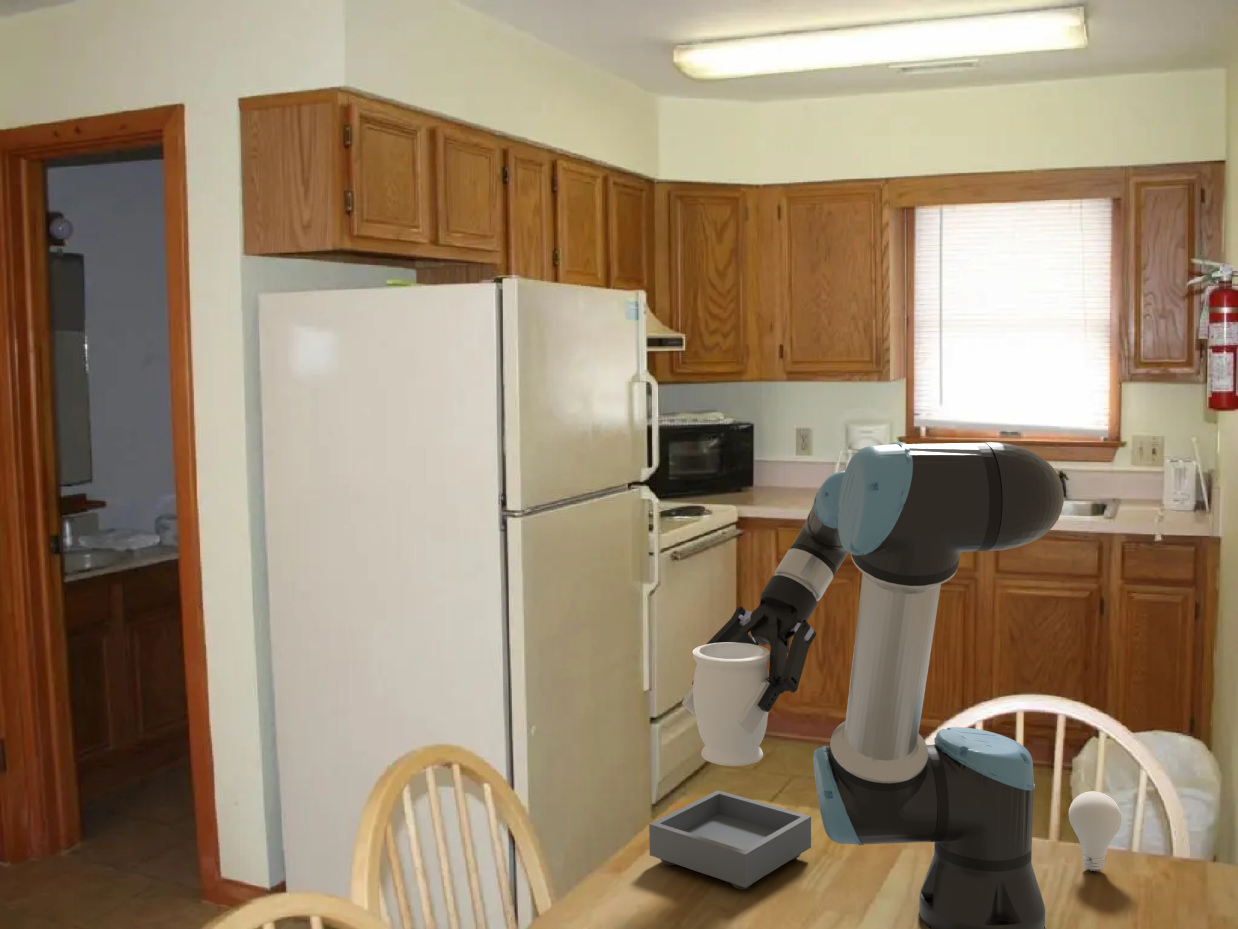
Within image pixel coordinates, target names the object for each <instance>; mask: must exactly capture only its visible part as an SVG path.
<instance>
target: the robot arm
mask: <svg viewBox="0 0 1238 929" xmlns="http://www.w3.org/2000/svg"><path fill="white" fill-rule="evenodd" d="M1064 494H1065V492H1064V489H1063V483H1062V481H1061V478H1060V476H1059V474H1058V473H1057V471H1056V469H1055V468H1054V467H1053V466H1052V465H1051V463H1049V462H1048V461H1047V460H1046V459H1045V458H1043V457H1042V456H1041V455H1039V454H1037V453H1035V452H1034V451H1031V450H1030V449H1027V448H1025V447H1021V446H1019V445H1014V444H1012V443H1005V442H1004V443H1003V442H995V441H993V442H991V441H989V442H988V441H987V442H986V441H985V442H984V441H983V442H957V443H952V442H950V443H917V444H916V443H912V444H906V443H904V442H897V441H896V442H891V443H889V444H880V445H868V446H864V447H862V448H860V449H859V450H857V452H855V453H854V454H853V456H851V458H850V459H849V462H848V464H847V466H846V467H845V470H840V471H837V472H835V473H832V474H830V476H828V477H827V478H826V479H825V480H824V482H823V483H822V485H821V486H820V487H819V489H818V490H817V491H816V494H815V498H814V499H813V504H812V507H811V509H810V511H809V512H808V515H807V518H806V520H805V522H804V524H803V526H802V528H801V529H800V531H799V533H798V535H797V536H796V538H795V539H794V540H793V543H792V545H791V546H790V547H789V549H787V552H786V553H785V555H784V556H783V558H782V559H781V561H780V563H779V564H778V566H777V567H776V569H775V571H774V576H771V578H770V579H769V580H768V581H767V584H766V585H765V587H764V589H763V590H762V592H761V593H760V602H759V605H758V606H757V608H755V609H754V610H753V611H751V610H750V611H749V610H746V609H745V608H744V607H743V606H741V605H740V606H738V607H737V608H736V609H735V611H734V612H733V614H732V615H731V617H730V619H729V620H728V621H727V622H725V624H724V625H723V626H722V627H721V628H720V629H719V630H718V631H717V632H716V633H715V635H713V636H712V638H710V640H708V642H706V644H712V643H723V642H736V643H748V644H754V645H758V646H760V645H761V646H762V645H763V646H765V645H767V646H769V648H770V649H769V652H770V659H769V668H768V673H769V677H768V679H769V680H768V679H767V678H766V680H767V681H768V682H769V683H770V684H769V685H768V684H767V683H766V682H762V683H761V685H760V686H759V688H758V690H757V691H756V693H755V695H754V696H753V698H752V700H751V701H750V703H749V705H748V706H747V708H746V710H745V711H744V713H743V715H742V716H741V718H740V720H739V721H738V723H739V724H740V725H741V726H742V727H743V728H744V729H745V730H746V731H747V732H748V733H750V734H753V732H754V731H755V729H756V727H757V726H758V724H759V722H760V721H761V719H762V717H763V716H764V714H765V712H769V713H770V711H771V710H772V708H773V706H774V705H775V703H776V701H777V700H778V699H779V697H780V694H783V693H785V692H790V693H796V692H797V691H798V689H799V684H800V681H801V677H802V673H803V670H804V667H805V664H806V663H805V662H806V660H807V656H808V652H809V649H810V646H811V644H812V643H813V641H814V640H815V638H816V637H817V632H816V631H815V630H814V629H813V627H812V626H811V625H810V623H809V622H808V621H809V619H810V617H811V616H812V614H813V612H814V611H815V609H816V607H817V605H818V601H820V600H821V599H822V597H823V596H824V594H825V592H826V590H827V589H828V587H829V586H830V584H831V582H832V580H833V579H834V578H835V576H836V573H837V571H838V570H839V569H840V567H841V566H842V564H843V562H844V560H845V559H846V558H847V556H848V555H849V554H850V558H851V560H852V563H853V564H854V566H855V567H856V568H857V569H858V570H859V571H860V573H862V574H861V582H860V584H861V585H860V594H859V600H858V609H857V619H856V626H855V627H856V628H855V634H854V635H855V637H854V645H853V653H852V660H851V662H852V664H851V671H850V680H849V689H848V698H847V705H846V706H847V707H846V715H845V720H844V721H843V722H841V723H840V724H839V725H837V727H835V728H834V730H833V732H832V735H831V737H830V743H829V744H830V745H829V746H828V745H823V746H821V747H818V748H815V750H814V751H813V761H812V762H813V774H814V783H815V788H816V794H817V801H818V805H819V810H820V816H821V821H822V825H823V828H824V831H825V833H826V835H827V837H828V838H829V839H830V840H831V841H832V842H834V843H837V844H845V845H857V846H864V845H880V844H881V845H883V844H886V845H888V844H908V843H911V844H912V843H934V844H933V845H934V851H933V856H932V857H931V858H932V859H931V861H930V865H929V866H928V869H927V872H926V875H925V878H924V879H923V883H922V886H921V888H920V891H919V899H918V900H919V901H918V902H919V906H918V907H919V909H918V911H919V912H918V913H919V916H920V918H921V920H922V922H924V924H926V926H928V927H929V926H930V927H931V929H932V928H933V929H1045V928H1044V927H1046V906H1045V903H1044V899H1043V895H1042V893H1041V889H1040V887H1039V883H1038V880H1037V876H1036V874H1035V871H1034V868H1033V864H1032V861H1033V860H1032V852H1033V851H1032V850H1033V849H1032V848H1033V819H1034V818H1033V816H1034V815H1033V814H1034V813H1033V811H1034V792H1035V791H1034V790H1035V788H1036V784H1035V782H1034V780H1035V779H1034V761H1033V758H1032V755H1031V753H1030V752H1029V750H1028V749H1027V748H1026V747H1025V746H1023V745H1022V744H1021V743H1019V742H1017V740H1014V739H1012V738H1010V737H1007V736H1005V735H1003V734H999V733H995V732H992V731H988V730H983V729H979V728H973V727H972V728H971V727H960V726H959V727H957V726H956V727H953V726H952V727H947V728H942V729H940V730H939V731H937V733H936V735H935V737H934V740H933V741H934V742H933V743H934V744H926V742H925V740H924V738H923V736H922V735H921V734H920V733H919V731H920V725H921V718H922V711H923V704H924V699H925V691H926V687H927V686H926V685H927V679H928V672H929V666H930V661H931V660H930V659H931V652H932V646H933V640H934V639H933V638H934V635H935V634H934V632H935V626H936V621H937V620H936V619H937V613H938V612H937V611H938V606H939V599H940V594H941V587H942V585H943V584H944V583H946V582H948V581H950V580H951V579H952V578H954V576H955V574H957V572H958V569H959V565H960V564H959V563H960V557H961V553H963V552H964V553H965V552H966V553H967V552H987V551H989V552H992V551H993V552H995V551H1005V550H1009V549H1014V548H1015V549H1016V548H1019V547H1022V546H1025V545H1028V544H1030V543H1032V542H1035V541H1037V540H1039V539H1040V538H1042V537H1044V535H1045V536H1046V534H1048V532H1049V531H1050V530H1051V529H1052V528H1053V527H1054V526H1055V524H1056V523H1058V521H1059V519H1060V516H1061V514H1062V510H1063V506H1064V502H1065V500H1064V498H1065V496H1064ZM749 633H750V634H749ZM790 639H791V640H792V641H791V644H790ZM691 682H692V683H691V685H692V686H691V687H690V689H689V691H688V692H687V693H686V695H685V697H684V699H683V700H682V701H681V704H682V705H683V706H684V708H686V709H687V710H688V711H689V712H690V714H691V715H695V716H696V713H695V708H694V700H693V682H694V679H693V680H692V681H691ZM930 927H929V928H930Z"/></svg>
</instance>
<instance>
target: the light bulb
mask: <svg viewBox="0 0 1238 929" xmlns="http://www.w3.org/2000/svg"><path fill="white" fill-rule="evenodd" d="M1069 806H1070V807H1069V809H1068V819H1069V823H1070V826H1071V827H1072V830H1073V831H1074V832H1075V835H1076V837H1077V838H1078V841H1079V846H1080V852H1081V853H1082V856H1081V866H1082V867H1083V868H1084V869H1086V870H1088V871H1089V870H1090V872H1092V871H1094V872H1093V873H1096V872H1095V871H1097V872H1101V871H1103V870H1104V868H1105V867H1106V856H1107V854H1108V852H1109V851H1108V850H1109V847H1110V846H1109V845H1110V844H1111V842H1112V840H1113V839H1114V837H1115V836H1116V835H1117V833H1118V832H1119V831H1120V828H1121V825H1122V813H1121V809H1120V808H1119V806H1118V804H1117V802H1116V801H1115V800H1114V799H1113V798H1112V797H1110V796H1109V795H1107V794H1105V793H1103V792H1100V791H1093V790H1090V791H1085V792H1082V793H1080V794H1078V795H1077V796H1076V797H1075V798H1074V799H1073V800H1072V801H1071V803H1070V805H1069Z"/></svg>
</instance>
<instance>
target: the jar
mask: <svg viewBox="0 0 1238 929" xmlns="http://www.w3.org/2000/svg"><path fill="white" fill-rule="evenodd" d="M692 658H693V660H694V661H695V662H696V665H695V666H696V667H695V670H694V674H693V675H694V676H693V680H694V682H693V681H692V682H693V685H692V686H693V700H694V708H695V713H696V715H695V717H696V724H697V729H698V733H699V736H700V739H701V740H702V743H704V746H703V747H702V749H701V752H700V754H701V757H702V759H704V761H706V762H709V763H712V764H714V765H719V766H725V767H726V766H728V767H740V766H749V765H753V764H756V763H758V762H760V760H762V759H763V757H764V752H763V750H762V748H761V747H760V745H761V744H762V742H763V739H764V738H765V735H766V731H767V726H768V716H769V713H770V711H769V712H765V714H764V716H763V717H762V719H761V721H760V722H759V724H758V726H757V727H756V729H755V731H754V732H753V734H750V733H748V732H747V731H746V730H745V729H744V728H743V727H742V726H741V725H740V724H739V723H738V721H739V720H740V718H741V716H742V715H743V713H744V711H745V710H746V708H747V706H748V705H749V703H750V701H751V700H752V698H753V696H754V695H755V693H756V691H757V690H758V688H759V686H760V685H761V683H762V682H766V683H767V684H768V685H769V684H770V683H769V682H768V681H767V680H766V678H767V679H768V677H769V668H768V667H767V663H769V662H770V649H768V648H767V647H764V646H762V645H754V644H748V643H736V642H723V643H712V644H707V643H706V644H702V645H698V646H696V647H695V648H694V649H693V650H692ZM768 680H769V679H768Z"/></svg>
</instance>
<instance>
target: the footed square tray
mask: <svg viewBox="0 0 1238 929" xmlns="http://www.w3.org/2000/svg"><path fill="white" fill-rule="evenodd" d="M648 824H649V826H648V828H649V833H648V834H649V837H648V839H649V856H651V857H654V858H657V859H660V861H661V863H662V864H664V865H665V866H667V867H668V866H669V867H670V866H675V865H678V866H680V867H684V868H687V869H689V870H692V871H695V872H698V873H701V874H704V875H707V876H711V877H713V878H716V879H719V880H721V881H725V882H727V883H730V884H731V885H732V886H733V887H734V888H735V889H736V890H738V891H746V890H748V889H750V887H751V886H752V884H754V883H756V882H757V881H758V880H760V879H762V878H763V877H765V876H767V875H769V874H770V873H772V872H773V871H775V870H777V869H778V868H780V867H782V866H783V865H785V864H787V863H788V862H790V861H792V860H796V859H798V858H799V857H800V856H801V854H803V853H804V852H806V851H808V850H809V849H811V848H812V816H811V815H807V814H804V813H801V812H800V813H799V812H798V811H797V812H796V811H793V810H789V809H785V808H782V807H778V806H776V805H773V804H772V805H771V804H768V803H764V802H761V801H758V800H753V799H750V798H748V797H747V798H746V797H744V796H740V795H737V794H732V793H729V792H727V791H726V792H725V791H722V790H719V789H718V790H715V791H713V792H711V793H709V794H707V795H705V796H703V797H701V798H699V799H696V800H695V801H693V802H690V803H689V804H687V805H685V806H682V807H681V808H678V809H677V810H676V809H675V811H672V812H670V813H669V814H666V815H665V816H662V817H661V818H658V819H656V820H654V821H652V822H651V823H648Z"/></svg>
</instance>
